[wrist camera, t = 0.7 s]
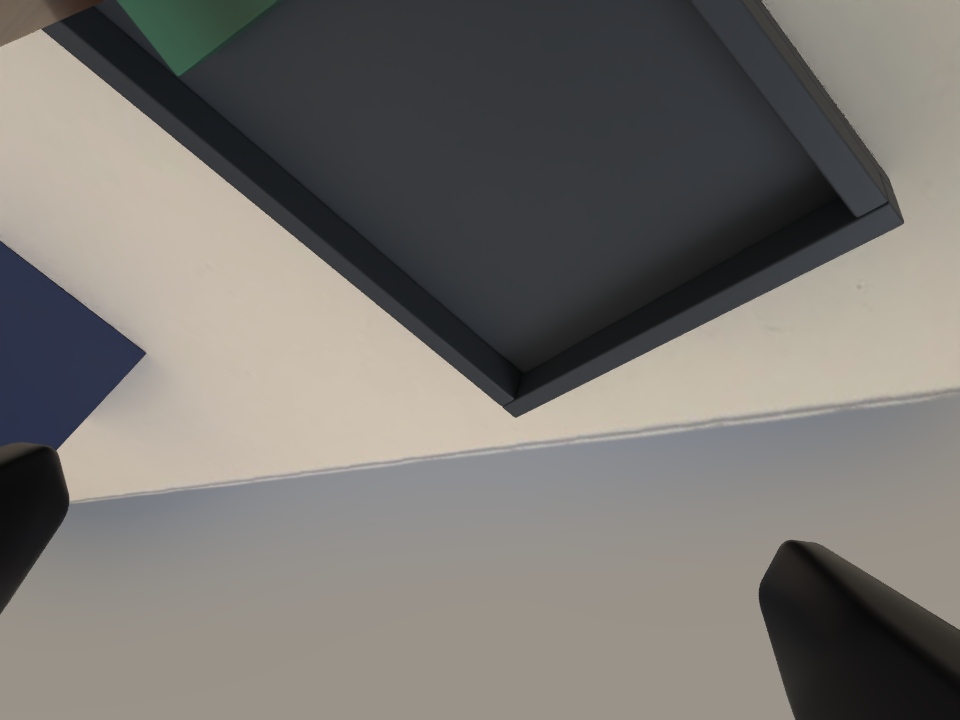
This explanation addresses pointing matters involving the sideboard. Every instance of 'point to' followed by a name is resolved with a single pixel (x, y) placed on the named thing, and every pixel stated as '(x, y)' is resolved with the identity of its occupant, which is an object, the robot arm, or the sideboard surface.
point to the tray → (523, 164)
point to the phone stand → (52, 357)
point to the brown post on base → (151, 23)
